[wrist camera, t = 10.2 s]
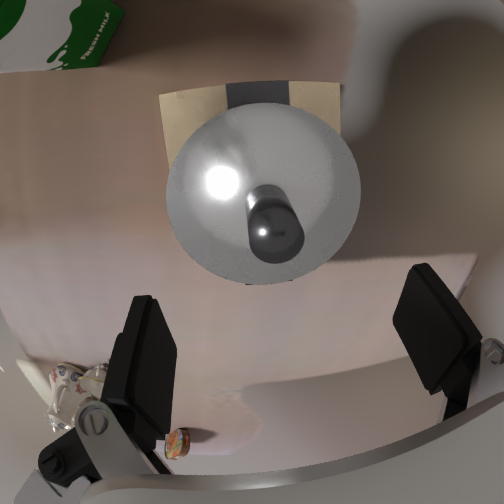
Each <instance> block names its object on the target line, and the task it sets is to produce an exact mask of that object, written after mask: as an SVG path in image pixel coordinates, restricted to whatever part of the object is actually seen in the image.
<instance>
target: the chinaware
mask: <svg viewBox="0 0 504 504" xmlns="http://www.w3.org/2000/svg"><path fill="white" fill-rule="evenodd" d="M107 370H108V367H105V366H104V365H102V363H99V365H98V366H97V367H96V368H92V369H89V370H88V371H87V372H86V373H85V372H83V371H82V370H81V369H79V368H77V367H76V366H74V365H71V364H68V363H59V364H58V366H56V367H54V368H53V370H52V371H51V372H50V373H49V378H50V382H51V387H52V398H51V404H50V407H49V409H48V411H47V412H46V414H45V416H46V418H48V419H49V420H50V423H51V425H52V426H53V431H54V432H55V433H56V432H58V431H59V430H58V429H60V430H62V431H63V429H64V428H67V429H71V419H72V416H73V413H74V411H75V409H76V410H79V408H80V407H81V406H82V405H84V404H85V403H87V402H90V401H100V398H101V394H102V389H103V385H104V381H105V377H106V373H107ZM91 393H92V395H91ZM88 396H90V397H88Z"/></svg>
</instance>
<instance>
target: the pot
mask: <svg viewBox="0 0 504 504" xmlns="http://www.w3.org/2000/svg"><path fill="white" fill-rule="evenodd" d="M159 99H160V107H161V115H162V122H163V129H164V136H165V143H166V149H167V155H168V161H169V167H170V170H171V167H172V165H173V162H174V160H175V158H176V156H177V154H178V152H179V151H180V149H181V148H182V146H183V145H184V143H185V142H186V141H187V140H188V139H189V137H190V136H191V135H192V134H193V133H194V132H195V131H196V130H197V129H198V128H199V127H201V126H202V125H203V124H204V123H205V122H207V121H208V120H210V119H211V118H213V117H214V116H216V115H218V114H219V113H222V112H224V111H226V110H229V109H231V108H234V107H237V106H241V105H245V104H252V103H278V104H284V105H290V106H293V107H296V108H300V109H303V110H305V111H307V112H309V113H311V114H314V115H316V116H317V117H319V118H320V119H322V120H323V121H325V122H326V123H328V124H329V125H330V126H331V127H332V128H333V129H334V130H335V131H336V132H337V133H338V134H339V135H340V136H341V111H340V83H331V82H305V81H256V82H241V83H230V84H226V85H219V86H211V87H203V88H196V89H189V90H183V91H177V92H172V93H167V94H162V95H159ZM289 281H293V280H289ZM245 285H254V284H245Z"/></svg>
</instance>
